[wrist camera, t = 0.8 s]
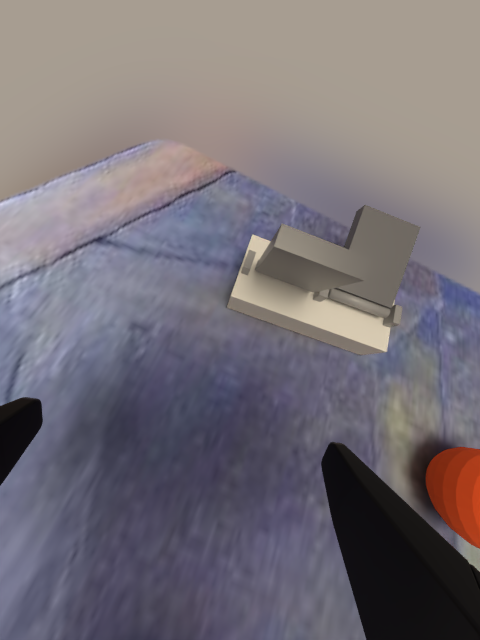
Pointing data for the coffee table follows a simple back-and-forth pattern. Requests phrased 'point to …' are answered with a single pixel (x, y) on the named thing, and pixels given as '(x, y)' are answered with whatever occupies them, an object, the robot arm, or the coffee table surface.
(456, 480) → the clementine
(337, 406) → the coffee table surface
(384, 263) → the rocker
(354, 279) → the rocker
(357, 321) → the rocker switch base
